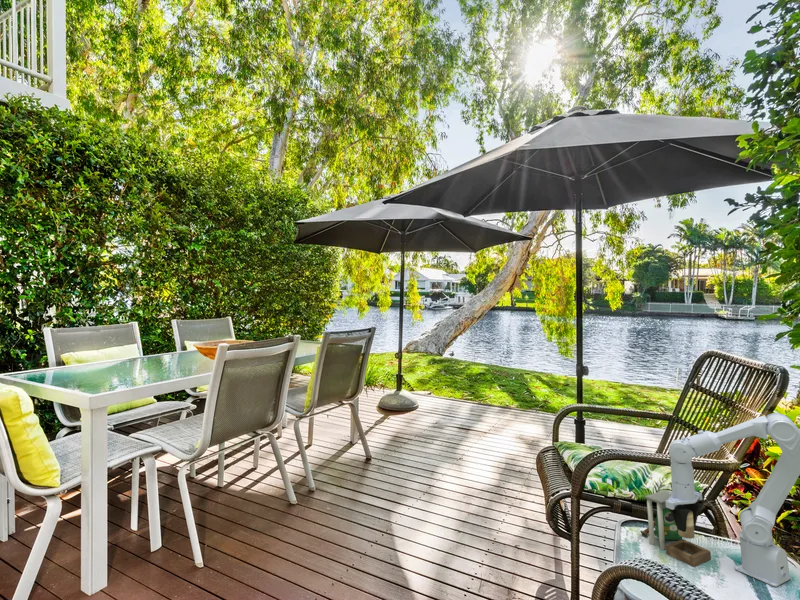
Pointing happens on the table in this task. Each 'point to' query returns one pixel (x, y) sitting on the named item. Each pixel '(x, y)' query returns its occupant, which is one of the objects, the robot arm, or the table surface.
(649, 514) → the miniature side table
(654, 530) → the wooden post with brackets
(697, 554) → the socket block
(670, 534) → the coffee box
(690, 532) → the peg
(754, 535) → the robot arm
